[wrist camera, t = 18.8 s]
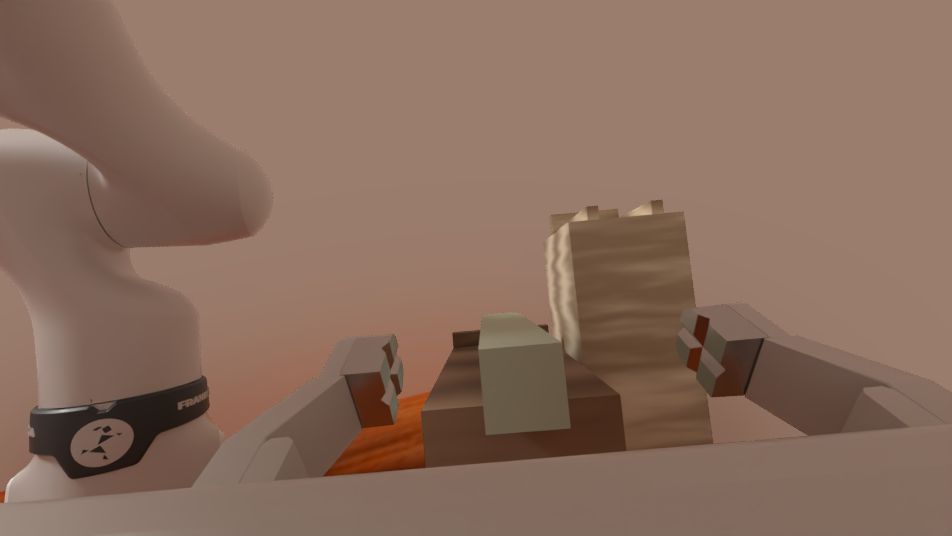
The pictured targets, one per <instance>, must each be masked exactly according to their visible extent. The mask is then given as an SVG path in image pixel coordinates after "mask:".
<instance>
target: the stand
mask: <svg viewBox="0 0 952 536" xmlns="http://www.w3.org/2000/svg"><path fill="white" fill-rule="evenodd" d="M550 225H551V235H552V236H550V237H549V238H548V239H547V240H545V241H544V242H543V244H544V254H545V264H546V274H547V284H548V294H549V304H550V313H551V323H552V333H553V337H555V338H556V339H558V340H559V341H561V342H562V348H563V351H564V352H566V353H567V354H568V355H570V356H571V357H572V358H574V359H575V360H576V361H577V362H579V363H580V364H581V365H583V366H584V367H585V368H586V369H588V370H589V371H590V372H592V373H593V374H594V375H596V376H597V377H598V378H599V379H601V380H602V381H603V382H605V383H606V384H607V385H609V386H610V387H611V388H612V389H614V390H615V391H616V392H618V393H619V394H620V397H621V406H622V415H623V424H624V433H625V442H626V451H633V450H645V449H657V448H669V447H682V446H694V445H706V444H713V439H712V431H711V423H710V415H709V407H708V400H707V392H706V390H705V389H704V388H703V387H702V386H701V384H700V383H699V382H698V381H697V380H696V374H697V372H695V371H693V370H691V369H689V368H687V367H686V366H685V365H684V364H683V362H682V361H681V360H680V357H679V355H678V353H677V348H676V339H677V334H678V333H679V332H680V331H681V330H682V329H683V328H684V326H683V325H682V323H681V322H680V318H681V314H682V312H683V310H684V309H685V308H694V307H696V305H695V297H694V289H693V281H692V273H691V265H690V257H689V250H688V242H687V234H686V226H685V218H684V212H673V213H664V209H663V202H662V200H656V201H650V202H648V203H646V204H644V205H642V206H640V207H638V208H636V209H635V210H633V211H631V212H629V213H627V214H625V215H623V216H621V217H619V216H618V209H612V210H601V211H598V206H589V207H586V208H585V209H583V210H582V211H581V212H579V213H569V214H557V215H551V216H550Z"/></svg>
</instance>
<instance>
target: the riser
mask: <svg viewBox="0 0 952 536" xmlns="http://www.w3.org/2000/svg"><path fill="white" fill-rule="evenodd" d="M537 326H539V327H540V328H542V329H543V330H545V331H546V332H548V325H546V324H545V325H537ZM548 333H549V332H548ZM452 334H453V346H454V348H453V350H452V353H451V354H450V356H449V358H448V360H447V362H446V364H445V366H444V368H443V370H442V372H441V373H440V375H439V377H438V379H437V381H436V383H435V385H434V387H433V389H432V391H431V393H430V395H429V397H428V399H427V400H426V402H425V404H424V406H423V408H422V410H421V417H422V430H423V443H424V456H425V468H432V467H444V466H456V465H468V464H480V463H492V462H504V461H516V460H527V459H539V458H551V457H563V456H574V455H586V454H598V453H610V452H622V451H626V442H625V433H624V424H623V415H622V406H621V397H620V394H619V393H618V392H616V391H615V390H614V389H612V388H611V387H610V386H609V385H607V384H606V383H605V382H603V381H602V380H601V379H599V378H598V377H597V376H596V375H594V374H593V373H592V372H590V371H589V370H588V369H586V368H585V367H584V366H583V365H581V364H580V363H579V362H577V361H576V360H575V359H574V358H572V357H571V356H570V355H568V354H567V353H566V352H564V351H563V357H564V367H565V377H566V387H567V396H568V406H569V416H570V426H571V428H569V429H557V430H544V431H532V432H519V433H506V434H494V435H486V432H485V421H484V409H483V398H482V386H481V375H480V364H479V352H478V347H479V339H480V330H476V331H464V332H454V333H452Z"/></svg>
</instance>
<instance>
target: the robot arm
mask: <svg viewBox="0 0 952 536" xmlns="http://www.w3.org/2000/svg"><path fill="white" fill-rule="evenodd" d="M0 117H2V118H4V119H7V120H10V121H13V122H15V123H18V124H21V125H24V126H26V127H28V128H31V129H33V130H29V129H0V269H1V270H2V271H3V272H4V273H5V275H6V276H7V277H8V278H9V279H10V280H11V282H12V283H13V284H14V286H15V287H16V288H17V290H18V292H19V293H20V295H21V297H22V298H23V300H24V302H25V304H26V307H27V309H28V311H29V314H30V318H31V322H32V325H33V332H34V341H35V351H36V362H37V379H38V406H36V407H35V408H34V409H32V410H31V412H30V424H29V425H28V428H27V435H28V436H29V451H30V452H31V453H33V454H35V456H34V458H33V459H32V461H31V462H30V463H29V465H28V466H27V467H26V468H24V469H23V470H21V471H20V472H19V473H18V474H17V475H16V476H15V477H14V478H12V479H11V480H10V481H9V483H8V485H7V488H6V494H5V502H4V503H0V536H952V392H950V391H949V390H947V389H945V388H943V387H942V386H940V385H939V384H937V383H935V382H934V381H932V380H929V379H926V378H923V377H920V376H917V375H914V374H911V373H908V372H904V371H902V370H899V369H896V368H893V367H890V366H887V365H884V364H881V363H878V362H875V361H872V360H869V359H866V358H863V357H860V356H857V355H854V354H851V353H848V352H845V351H842V350H839V349H836V348H833V347H830V346H827V345H824V344H821V343H818V342H815V341H812V340H809V339H806V338H803V337H800V336H790V335H789V334H787V333H786V332H785V331H784V330H782V329H781V328H780V327H778V326H777V325H775V324H774V323H773V322H771V321H770V320H768V319H767V318H766V317H764V316H763V315H762V314H760V313H759V312H757V311H756V310H754V309H753V308H752V307H750V306H749V305H748V304H746V303H742V302H736V303H728V304H721V305H714V306H705V307H694V308H685V309H684V310H683V312H682V314H681V318H680V322H681V323H682V325H683V326H684V328H683V329H682V330H681V331H680V332H679V333H678V334H677V339H676V348H677V353H678V355H679V357H680V360H681V361H682V362H683V364H684V365H685V366H686V367H687V368H689V369H691V370H693V371H695V372H697V374H696V380H697V381H698V382H699V383H700V384H701V386H702V387H703V388H704V389H705V390H706V392H707V393H708V394H709V395H710V396H711V397H725V396H742V395H745V397H746V398H747V399H749V400H751V401H752V402H754V403H756V404H757V405H759V406H760V407H762V408H764V409H765V410H767V411H769V412H770V413H772V414H774V415H775V416H777V417H779V418H780V419H782V420H784V421H785V422H787V423H788V424H790V425H792V426H793V427H795V428H797V429H798V430H800V431H802V432H803V433H805V434H807V435H808V436H801V437H790V438H779V439H767V440H755V441H742V442H731V443H718V444H706V445H694V446H682V447H669V448H657V449H645V450H633V451H622V452H610V453H598V454H586V455H574V456H563V457H551V458H539V459H527V460H516V461H504V462H492V463H480V464H468V465H456V466H444V467H432V468H421V469H409V470H397V471H385V472H373V473H361V474H349V475H337V476H326V477H323V475H324V474H325V473H326V472H327V471H328V470H329V468H330V467H331V466H332V465H333V464H334V463H335V461H336V460H337V459H338V458H339V457H340V456H341V454H342V453H343V452H344V451H345V450H346V449H347V447H348V446H349V445H350V444H351V443H352V442H353V440H354V439H355V438H356V437H357V436H358V435H359V433H360V432H361V431H362V428H368V427H377V426H386V425H394V423H395V419H396V414H397V410H398V406H399V404H398V399H397V396H398V394H400V393H401V392H402V387H403V365H402V361H401V358H400V357H399V356H398V355H396V352H397V349H398V343H397V340H396V336H395V335H394V334H388V335H387V334H386V335H371V336H359V337H357V336H356V337H346V338H341V339H339V340H338V341H337V343H336V345H335V347H334V349H333V351H332V353H331V354H330V356H329V358H328V360H327V362H326V364H325V366H324V367H323V369H322V371H321V373H320V375H319V377H318V378H312V379H311V380H309V381H308V382H306V383H305V384H304V385H302V386H301V387H299V388H298V389H297V390H295V391H294V392H292V393H291V394H290V395H288V396H287V397H286V398H284V399H283V400H281V401H280V402H278V403H277V404H275V405H274V406H273V407H271V408H270V409H269V410H267V411H266V412H264V413H263V414H261V415H260V416H259V417H257V418H256V419H254V420H253V421H251V422H250V423H249V424H247V425H246V426H245V427H243V428H242V429H240V430H239V431H237V432H236V433H235V434H233V435H232V436H230V437H229V438H228V439H226V440H224V432H223V431H219V427H218V426H217V425H216V423H215V422H214V421H213V419H212V418H211V417H210V416H209V414H208V412H207V410H208V408H209V406H210V405H209V387H208V386H207V380H206V377H204V376H203V375H202V370H201V346H200V345H201V344H200V318H199V312H198V310H197V308H196V306H195V305H194V303H193V302H192V301H191V300H190V299H189V298H188V297H187V296H185V295H184V294H182V293H181V292H178V291H176V290H174V289H172V288H169V287H167V286H164V285H161V284H158V283H155V282H152V281H148V280H145V279H142V278H140V277H139V275H138V274H137V273H136V272H135V270H134V268H133V266H132V264H131V261H130V255H129V251H130V248H134V247H164V246H165V247H168V246H201V245H212V244H217V243H223V242H228V241H233V240H238V239H243V238H248V237H252V236H255V235H256V234H257V233H258V232H259V231H260V230H261V229H262V228H263V227H264V225H265V224H266V222H267V220H268V218H269V216H270V213H271V210H272V204H273V193H272V188H271V184H270V182H269V179H268V177H267V175H266V173H265V171H264V170H263V168H262V167H261V166H260V164H259V163H258V162H257V161H256V160H255V159H254V158H253V157H252V156H251V155H250V154H249V153H247V152H246V151H245V150H243V149H241V148H238V147H236V146H234V145H232V144H230V143H228V142H227V141H225V140H223V139H221V138H220V137H218V136H217V135H215V134H213V133H212V132H210V131H209V130H208V129H206V128H205V127H204V126H202V125H201V124H200V123H198V122H197V121H196V120H195V119H193V118H192V117H191V116H190V115H189V114H188V113H186V111H184V110H183V109H182V108H181V107H180V106H179V105H178V104H177V103H176V102H175V101H174V100H173V99H172V98H171V97H170V96H169V95H168V94H167V92H166V91H165V90H164V89H163V88H162V87H161V85H160V84H159V83H158V82H157V80H156V79H155V78H154V76H153V75H152V74H151V73H150V71H149V69H148V68H147V66H146V65H145V63H144V62H143V60H142V58H141V56H140V54H139V52H138V50H137V49H136V47H135V45H134V43H133V41H132V39H131V37H130V35H129V33H128V31H127V29H126V27H125V25H124V23H123V21H122V19H121V17H120V15H119V13H118V11H117V9H116V6H115V5H114V2H113V0H0Z"/></svg>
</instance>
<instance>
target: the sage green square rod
mask: <svg viewBox="0 0 952 536" xmlns="http://www.w3.org/2000/svg"><path fill="white" fill-rule="evenodd" d="M478 352H479V364H480V375H481V386H482V398H483V409H484V421H485V432H486V435H494V434H506V433H519V432H532V431H544V430H557V429H569V428H571V426H570V416H569V406H568V396H567V387H566V377H565V367H564V357H563V348H562V342H561V341H559V340H558V339H556V338H555V337H553V336H552V335H550V334H549V333H548V332H546V331H545V330H543V329H542V328H540V327H539V326H537V325H536V324H535V323H533V322H531V321H530V320H529V319H527V318H526V317H524V316H523V315H522V314H520V313H519V312H512V313H501V314H490V315H482V321H481V330H480V339H479V347H478Z"/></svg>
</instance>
